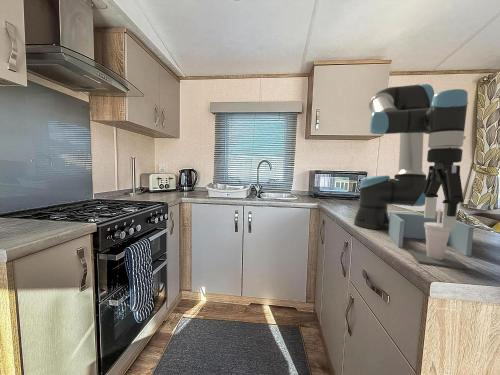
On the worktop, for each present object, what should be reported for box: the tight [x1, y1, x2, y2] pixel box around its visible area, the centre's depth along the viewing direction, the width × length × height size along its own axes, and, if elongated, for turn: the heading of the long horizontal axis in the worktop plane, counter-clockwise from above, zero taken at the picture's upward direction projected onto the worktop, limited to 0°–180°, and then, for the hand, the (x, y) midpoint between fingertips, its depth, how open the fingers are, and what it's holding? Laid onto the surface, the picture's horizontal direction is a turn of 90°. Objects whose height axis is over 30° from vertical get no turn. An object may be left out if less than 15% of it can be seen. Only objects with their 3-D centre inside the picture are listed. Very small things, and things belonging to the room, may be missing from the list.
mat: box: [407, 248, 469, 271], centre depth 68 cm, size 11×11×1 cm
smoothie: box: [424, 209, 452, 260], centre depth 67 cm, size 6×6×14 cm
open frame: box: [388, 212, 475, 257], centre depth 82 cm, size 17×19×9 cm
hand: (437, 222), depth 67 cm, fingers open, 13 cm apart
